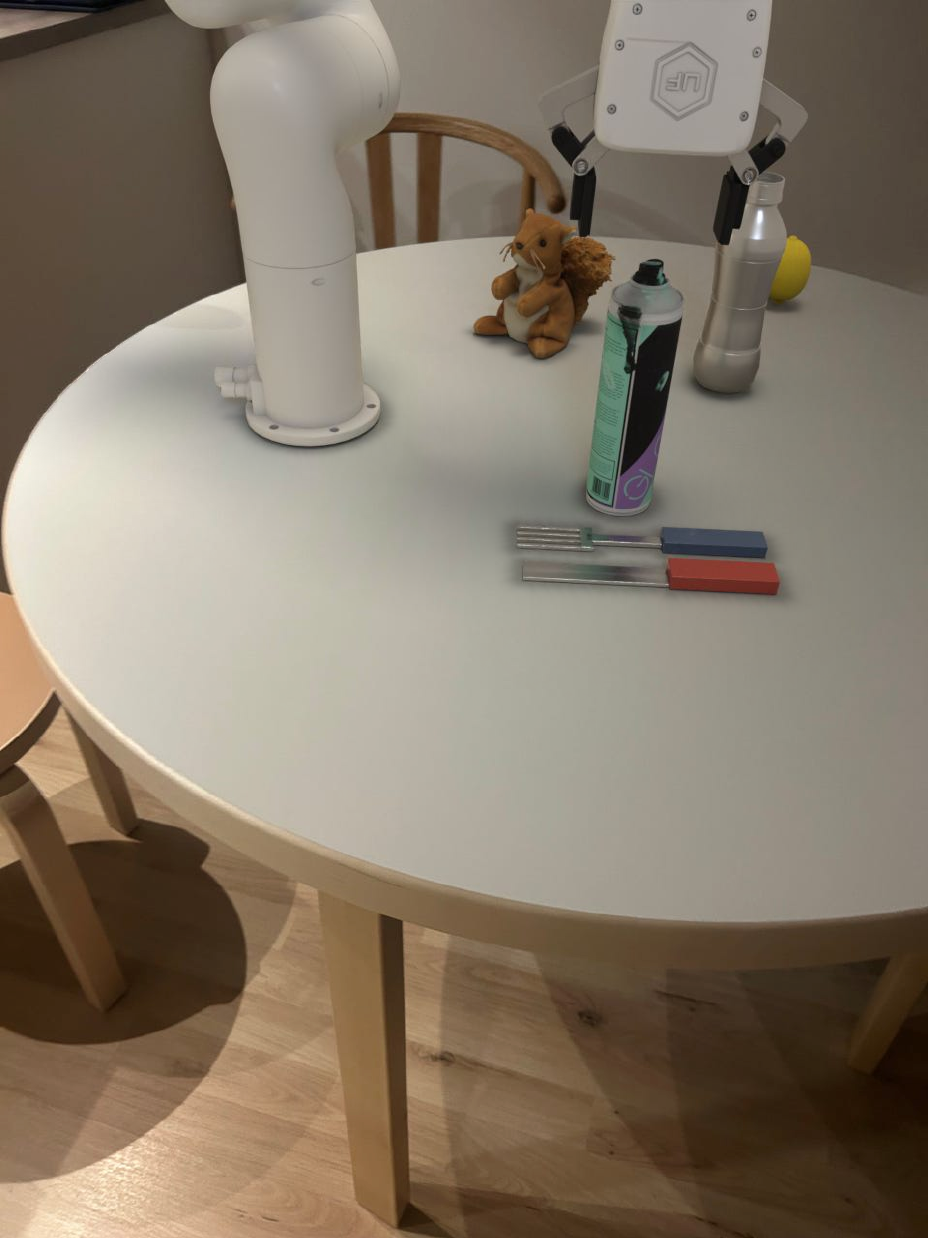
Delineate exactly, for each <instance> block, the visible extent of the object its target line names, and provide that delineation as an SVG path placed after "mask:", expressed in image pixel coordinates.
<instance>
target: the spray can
mask: <svg viewBox="0 0 928 1238" xmlns="http://www.w3.org/2000/svg"><path fill="white" fill-rule="evenodd" d="M664 264H665V261H664V260H662V259H660V258H649V259H647V260H644V261H642V262H640V263H639V265H638V270H636V271H635V272H634V274H632V275H631V276H630V277H629V280H628V281H626V282H622V283H620V284H618V285H615V286H614V287H613V288H612V289H611V292H610V298H609V301H608V304H607V313H606V320H605V327H604V328H605V329H604V336H603V337H604V339H603V347H602V352H601V353H602V355H601V361H600V362H601V363H600V371H599V379H598V387H597V396H596V405H595V411H594V420H593V429H592V437H591V445H590V452H589V453H590V454H589V460H588V461H589V462H588V470H587V479H586V487H585V499H586V502H587V503H588V505H590V507H592V508H593V509H595V510H596V511H598V512H601V513H603V514H606V515H609V516H615V517H631V516H636V515H638V514H642V513H643V512H645V511H646V510H647V509H648V507H649V506H650V504H651V499H652V495H653V490H654V489H653V488H654V484H655V478H656V477H655V476H656V470H657V465H658V459H659V453H660V449H661V443H662V437H663V431H664V427H665V426H664V425H665V420H666V419H665V418H666V413H667V408H668V402H669V396H670V390H671V385H672V378H673V374H674V369H675V368H674V367H675V361H676V356H677V349H678V345H679V339H680V333H681V327H682V323H683V321H682V320H683V316H684V302H685V301H684V300H685V297H684V295H683V293H682V292H681V290H679V289H677V288H675V287H673V286H672V285H671V284H670V279H669V278H668V277H667V276H666V274H665V273H664V266H665V265H664Z"/></svg>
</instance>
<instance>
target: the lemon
mask: <svg viewBox="0 0 928 1238" xmlns="http://www.w3.org/2000/svg"><path fill="white" fill-rule="evenodd" d="M811 271H812V255H811V251H810V249H809V248H808V246H807V244H806V243H805V242H803V241H802V240H801V239H798V237H797V236H796V235H790V236H789V237H787V244H786V248H785V251H784V254H783V256H782V259H781V262H780V264H779V267H778V270H777V273H776V275H775V278H774V281H773V284H772V287H771V291H770V295H769V298H768V299H771V300H772V301H773V304H775V305H781V304H783V303H784V302H786V301H787V302H788V301H790V300H793V299H794V298H796V297H797V296H799V295H800V294H801V293H802V292H803V290H804V289H805V288H806V286H807V283H808V281H809V278H810V275H811Z"/></svg>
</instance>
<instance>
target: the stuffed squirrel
mask: <svg viewBox="0 0 928 1238" xmlns="http://www.w3.org/2000/svg"><path fill="white" fill-rule="evenodd" d="M577 228H578V227H576V226H575V225H563V224H562V223H561V222H560V221H559V220H558V219H556V218H554V217H552V216H550V215H546V214H544V213H540V212H535V211H534V209H533V208H528V209H526V211H525V218H524V219H523V221H522V223H521V225H520V227H519V230H518V233H517V234H516V235H515V236H514V238H513V240H512V241H511V242H509V243H507V244H506V245H505V246H503V247H502V249H501V250H500V251H499V253H498V254H499V255H502V254H503V253H504V250H505V249H506V248H507V249H506V251H505V254H504V256H503V258H502V260H501V261H502V263H505V262H506V258H507V256H508V254H509V253H510V257H511V258H512V261H514V262H515V265H514V267H513V268H510V269H508V270H507V271H505V272H504V273H502V274H500V275H498V276H496V277H494V279H493V280H492V283H491V289H490V290H491V293H492V297H493V298H494V299H496V301H501V302H500V304H499V306H498V308H497V309H496V315H493V314H492V315H484V316H481V317H479V318H478V319H476V321H475V322H474V323H473V330H474V332H475V333H476V334H477V335H483V336H503V335H509V336H508V337H509V338H512V339H513V340H515V341H517V342H520V343H522V344H523V343H524V344H527V347H528V349H529V350H530V351H531V353H532V354H533V356H535V357H536V358H537V359H545V358H548V357H551V356H552V355H554V354H556V353H557V352H559V351H562V350H563V349H564V348H565V347H566V345H567V344H568V342H569V338H570V336H571V331H572V328H573V327H575V326H576V325H577V324H578V323H580V322H582V321H583V317H584V315H585V314H586V312H587V310H588V308H589V305H590V302H589V299H590V298H591V297H593V296H596V295H597V294H598V292H597V291H599V290H600V288H602V287H603V286H604V283H607V282H608V281H609V282H613V280H612V279H611V275H613V270H612V263H613V262H614V261H616V260H617V259H616V256H615V255H613V254H612V253H609V251H607V247H606V245H604V244H603V243H602V242H599V241H597V240H595V239H594V238H592V237H579V236H578V237H576V236H575V235H576V234H577V232H578V229H577Z"/></svg>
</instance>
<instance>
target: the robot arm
mask: <svg viewBox="0 0 928 1238" xmlns="http://www.w3.org/2000/svg"><path fill="white" fill-rule="evenodd" d="M164 1H165V3H166V4H167V6H168V8H169V9H170V10H171V11H172V12H173V13H174V15H176V17H178V18H179V19H180V20H181V21H183V22H185V23H186V24H188V25H190V26H192V27H195V28H199V29H206V30H207V29H209V30H210V29H212V30H213V29H224V28H230V27H235V26H239V25H244V24H248V23H252V22H256V21H260V20H263V22H264V24H265V26H266V27H267V28H265V29H262V30H258V31H256V32H252V33H250V34H248V35H245V36H244V37H243V38H241V39H240V40H238V41H236V42H235V43H234V44H232V46H230V47H229V48H228V49H227V50H226V51H225V52H224V54H223V56H221V58H220V59H219V61H218V62H217V64H216V66H215V69H214V71H213V75H212V78H211V81H210V82H211V83H210V90H209V103H210V113H211V118H212V123H213V126H214V130H215V133H216V134H215V135H216V137H217V139H218V143H219V146H220V150H221V153H222V156H223V159H224V163H225V166H226V169H227V172H228V176H229V181H230V184H231V189H232V194H233V199H234V205H235V210H236V216H237V224H238V231H239V238H240V239H239V240H240V247H241V252H242V258H243V259H242V260H243V265H244V266H243V267H244V274H245V282H246V288H247V298H248V306H249V313H250V322H251V329H252V338H253V345H254V353H255V362H256V364H248V366H247V367H236V366H228V365H227V366H226V365H225V366H224V365H222V366H221V365H216V366H215V367H214V370H213V371H214V372H213V381H214V385H215V386H216V387H217V388H220V393H221V396H222V398H234V399H235V398H246V400H247V401H246V403H245V416H246V421H247V423H248V426H249V427H250V428H251V430H253V431H254V433H256V434H258V435H259V436H260V437H263V438H265V439H267V440H269V441H272V442H275V443H279V444H283V445H287V446H295V447H321V446H322V447H323V446H328V445H335V444H339V443H344V442H347V441H351V440H353V439H355V438H358V437H360V436H362V435H363V434H365V433H367V432H368V431H370V429H372V428H373V427H374V426H375V425H376V423H378V421H379V419H380V416H381V400H380V397H379V395H378V393H377V392H376V391H375V390H374V389H372V387H370V386H369V385H367V384H366V383H364V382H363V380H364V379H363V359H362V343H361V342H362V340H361V323H360V322H361V320H360V304H359V303H360V302H359V301H360V299H359V282H358V281H359V280H358V265H357V246H356V229H355V221H354V214H353V213H354V212H353V208H352V204H351V201H350V197H349V195H348V193H347V189H346V187H345V184H344V182H343V180H342V177H341V175H340V172H339V168H338V164H337V156H338V155H339V154H340V153H342V152H343V151H345V150H348V149H350V148H352V147H355V146H357V145H359V144H362V143H363V142H364V143H365V141H367V140H370V139H372V138H374V137H375V136H377V135H378V134H380V132H382V131H383V130H384V129H386V127H388V125H389V124H390V122H391V121H392V119H393V117H394V116H395V114H396V111H397V110H398V106H399V104H400V103H399V102H400V98H401V89H402V88H401V85H402V84H401V83H402V82H401V74H400V67H399V63H398V59H397V57H396V52H395V49H394V47H393V45H392V42H391V39H390V38H389V35H388V32H387V31H386V29H385V27H384V25H383V23H382V21H381V18H380V17H379V15H378V13H377V11H376V9H375V7H374V5H373V3H372V1H371V0H164ZM772 9H773V0H610V4H609V8H608V13H607V18H606V21H605V25H604V30H603V36H602V42H601V48H600V53H599V59H598V64H596V65H595V66H593V67H591V68H589V69H586V70H585V71H583V72H581V73H579V74H577V75H575V76H573V77H570V78H569V79H567V80H565V81H563V82H561V83H559V84H557V85H555V86H552V87H551V88H549V89H546V90H545V91H543V92H541V93H540V95H539V97H538V107H539V110H540V114H541V116H542V119H543V122H544V125H545V126H546V129H547V131H548V134H549V137H550V140H551V144H552V145H553V146H554V148H555V149H556V150H557V151H558V152H559V154H560V155H561V157H562V158H563V159H564V160H565V161H566V162H567V164H568V165H569V166H570V167H571V169H572V172H573V178H572V187H571V188H572V189H571V197H570V207H569V221H577V228H578V229H577V231H578V237H583V238H584V237H585V238H588V236H590V235H591V230H592V220H593V213H594V206H595V205H594V204H595V196H596V187H597V174H596V168H595V166H596V165H597V164H598V163H599V162H600V160H602V158H603V157H604V156H605V155H606V154H607V153H608V152H609V151H610V150H614V151H617V152H624V153H625V152H627V153H640V154H657V155H658V154H659V155H673V156H675V155H677V156H694V157H695V156H696V157H727V159H728V160H729V162H730V164H731V165H729V166H730V167H729V170H727V171H726V174H723V176H722V181H721V185H720V190H719V196H718V201H717V207H716V210H715V216H714V220H713V226H712V231H713V234H714V237H715V240H716V239H717V241H718V243H720V244H721V245H729V243H730V239H731V234H732V230H733V229H740V227H741V223H742V219H743V214H744V210H745V205H746V201H747V196H748V192H749V187H750V185H751V184H753V183H754V182H756V180H757V179H758V176H759V175H760V174H761V173H762V172H766V171H767V170H768V169H769V168H770V167H771V166H773V165H774V164H775V163H776V162H778V161H779V160H780V159H781V158H782V157H783V156H784V155H785V153H786V150H787V148H788V147H789V146H790V144H792V142H793V141H794V140H795V138H796V137H797V135H798V134H799V133H800V131H801V130H802V129H803V128H804V126H805V125H806V123H807V122H808V120H809V112H808V111H807V110H806V108H805V107H804V106H802V105H801V104H800V103H798V102H797V101H796V100H795V99H793V98H792V97H790V96H789V95H787V94H786V93H785V92H783V91H782V90H780V89H779V88H778V87H777V86H775V85H774V84H773V83H771V82H769V81H768V80H767V79H765V78H764V76H765V75H764V74H765V68H766V62H767V54H768V48H769V47H768V46H769V39H770V30H771V22H772V21H771V20H772ZM590 96H593V103H592V121H593V127H592V128H591V129H590V130H588V132H587V133H586V134H585V135H584V136H583V138H581V140H580V139H579V138H578V137H577V136H576V135H575V133H574V132H573V131H572V129H571V128H570V126H568V123H567V121H566V118H565V115H564V114H565V113H564V112H565V110H566V109H567V108H568V107H570V106H572V105H575V104H577V103H578V102H580V101H582V100H584V99H586V98H589V97H590ZM759 106H761V107H762V108H763V109H765V110H766V111H767V112H769V113H771V114H772V115H774V116H775V117H776V118H777V119H776V123H775V125H774V126H773V127H772V130H771V132H769V134H767V135H766V136H765V137H763V138H762V139H761V140H760V141H759V142H758V143H756V144H755V145H754V146H752V148H750V149H749V150H748V149H747V148H748V147H749V145H750V143H751V141H752V138H753V135H754V131H755V127H756V123H757V117H758V111H759Z"/></svg>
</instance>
